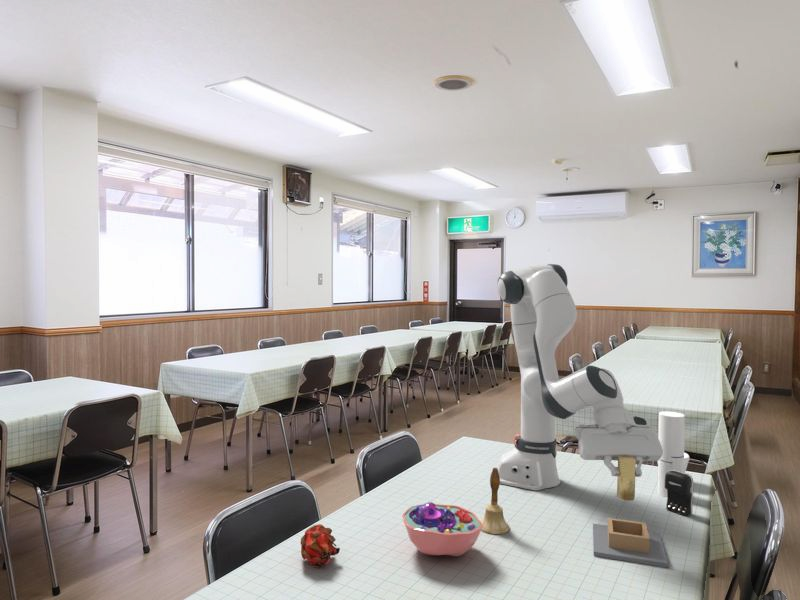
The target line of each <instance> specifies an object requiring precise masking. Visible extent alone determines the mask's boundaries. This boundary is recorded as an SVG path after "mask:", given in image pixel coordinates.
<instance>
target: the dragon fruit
mask: <svg viewBox="0 0 800 600" xmlns="http://www.w3.org/2000/svg"><path fill="white" fill-rule="evenodd" d="M332 532H333V530H332V529H331V527H325V526H324V524H321V523H319V524H314V525H311V527H308V528H307V529H306V530H305V531H304V535H302V536H301V537H300V546H301V547H300V548H301V550H300V554H301V558H302V559H303V560H307V561H308V563H309V564H310V565H311V566H312V567H313V568H317V569H320V568H321V567H320V565H321V564H325V565H328V564H329V563H330V562H331V556H337V555H338V554H339V553H340V552H341V551H340V550H341V548H340V547H337V544H335V543H334V542H335V541H336V540H337V539H336V537H334V535H332Z"/></svg>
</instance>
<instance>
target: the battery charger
mask: <svg viewBox="0 0 800 600" xmlns="http://www.w3.org/2000/svg"><path fill="white" fill-rule="evenodd" d="M665 489H667V497H666V498H667V499H666V505H665V506H666V508H665V509H667V510H668V511H671V512H674V513H675V514H678V515H681V516H687V517H688V516H691V515H693V500H694V479H693V476H692V475H690V474H689V473H686V472H685V473H684V472H680V471H677V470H671V471H669V472H667V473H666V475H665Z"/></svg>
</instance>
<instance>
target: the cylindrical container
mask: <svg viewBox="0 0 800 600" xmlns="http://www.w3.org/2000/svg"><path fill="white" fill-rule="evenodd" d="M685 417H686V416H685V414H684V413H680V412H676V411H665V410H664V411H659V412H658V439H659V441H660V444H661V446H662V449H663V455H662V456H661V458H660V459H659V460H658V462H657V467H658V468H657V493H658V495H660V496H662V497H664V498H667V489H665V475H666V473H667V472H669V471H671V470H677V471H680V472H684V453H685V430H686V429H685V425H686V424H685V423H686V421H685V419H686V418H685Z"/></svg>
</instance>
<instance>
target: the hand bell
mask: <svg viewBox="0 0 800 600" xmlns="http://www.w3.org/2000/svg"><path fill="white" fill-rule="evenodd" d="M491 472H492V473H491ZM491 472H490V478H489V483H490V489H491V497H490V504H488V505H486V507H485V511H484V516H483V518H482V519H481V520H480V522H481V523H482V529H481V531H482V532H483V533H485V534H486V533H487V534H491V535H503V534H507V533H508V532H509V531H510V530H511V527H510V524H508V523H507V521H506V520H505V516H504V509H503V507H502V506H500V505H499V504H498V499H499V498H498V492H499V488H500V485H501V484H500V476H499V473H498V469H497V467H493V468H492V470H491Z"/></svg>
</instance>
